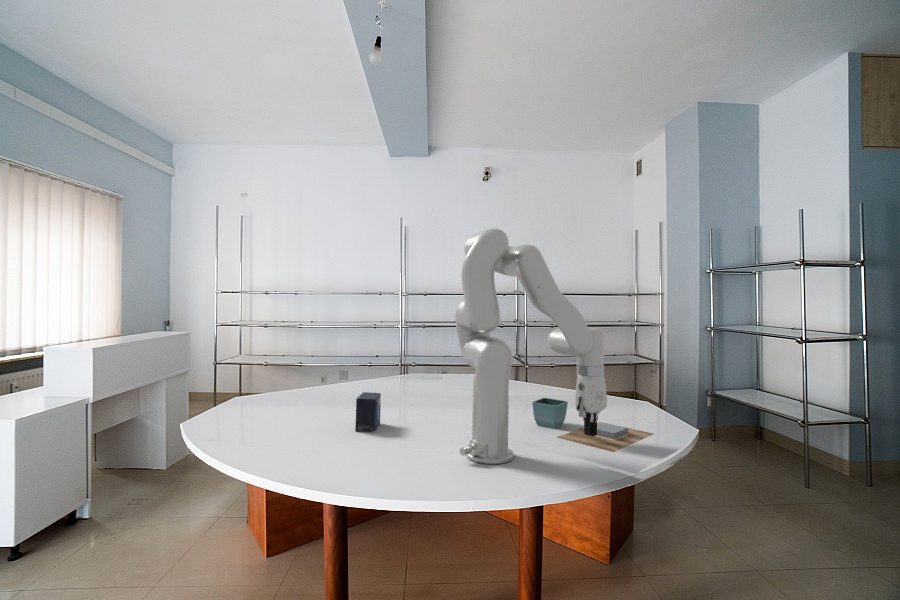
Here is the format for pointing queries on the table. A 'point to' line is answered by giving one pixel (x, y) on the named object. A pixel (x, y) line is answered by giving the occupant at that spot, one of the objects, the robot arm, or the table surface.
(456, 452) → the table surface
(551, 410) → the flower pot
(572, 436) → the board
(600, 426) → the tile
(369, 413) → the small box
